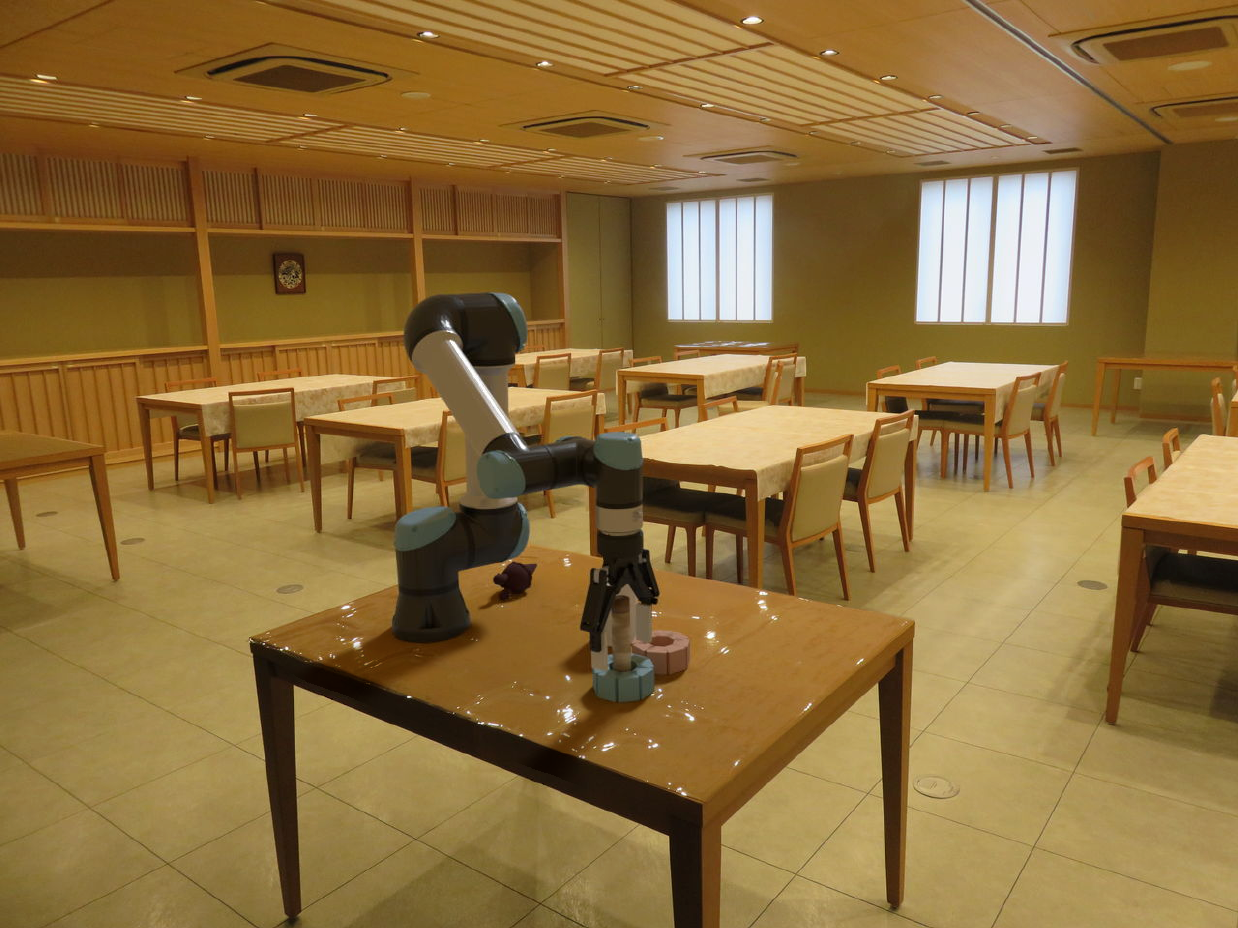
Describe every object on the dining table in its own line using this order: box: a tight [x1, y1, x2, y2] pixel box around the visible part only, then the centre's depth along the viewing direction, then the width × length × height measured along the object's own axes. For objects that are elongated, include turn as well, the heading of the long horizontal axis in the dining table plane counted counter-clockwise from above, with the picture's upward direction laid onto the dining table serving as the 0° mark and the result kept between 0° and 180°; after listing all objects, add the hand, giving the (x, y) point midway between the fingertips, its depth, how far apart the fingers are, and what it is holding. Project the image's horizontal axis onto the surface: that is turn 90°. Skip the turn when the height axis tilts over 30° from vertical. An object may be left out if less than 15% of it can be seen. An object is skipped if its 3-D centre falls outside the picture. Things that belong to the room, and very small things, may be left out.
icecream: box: [492, 561, 538, 602], centre depth 198 cm, size 7×7×15 cm
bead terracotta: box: [631, 629, 691, 676], centre depth 160 cm, size 10×10×4 cm
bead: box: [591, 652, 655, 703], centre depth 150 cm, size 10×10×4 cm
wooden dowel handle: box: [611, 595, 632, 672], centre depth 148 cm, size 3×3×16 cm
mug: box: [598, 582, 638, 647], centre depth 169 cm, size 12×8×12 cm
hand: (622, 654), depth 149 cm, fingers open, 12 cm apart
